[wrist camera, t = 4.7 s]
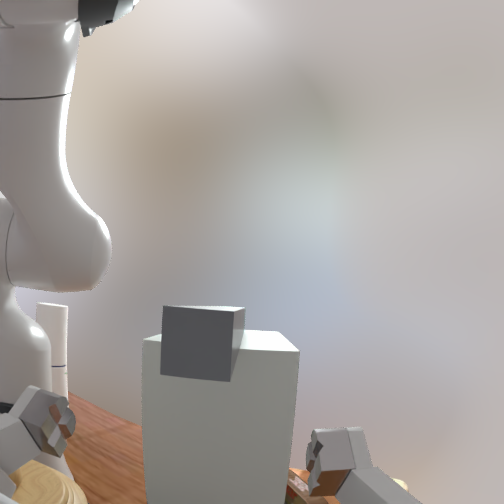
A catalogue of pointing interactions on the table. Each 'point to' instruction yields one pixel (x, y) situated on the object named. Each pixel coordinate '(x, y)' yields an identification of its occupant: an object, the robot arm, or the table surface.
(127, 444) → the table surface
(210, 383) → the pedestal
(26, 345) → the robot arm
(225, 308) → the teal-tipped grey bar
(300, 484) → the tin
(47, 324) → the cylindrical container
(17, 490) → the canister
